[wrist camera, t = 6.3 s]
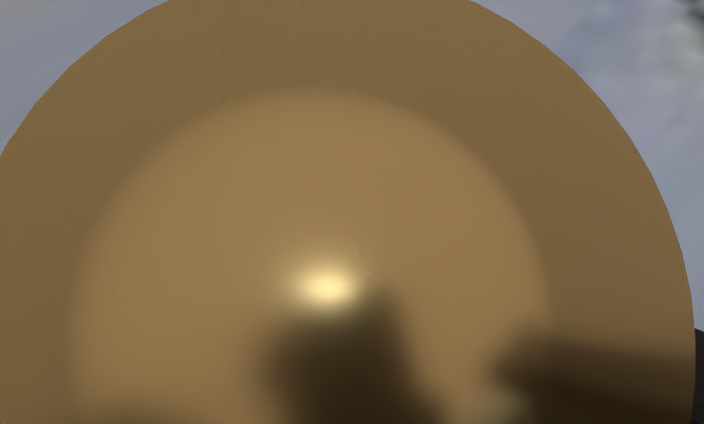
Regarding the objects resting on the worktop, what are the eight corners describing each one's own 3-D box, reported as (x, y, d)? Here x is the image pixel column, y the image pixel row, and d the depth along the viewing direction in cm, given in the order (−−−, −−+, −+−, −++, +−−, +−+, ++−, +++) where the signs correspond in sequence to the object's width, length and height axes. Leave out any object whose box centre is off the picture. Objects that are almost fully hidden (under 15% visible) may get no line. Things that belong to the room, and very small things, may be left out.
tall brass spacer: (324, 440, 14) (714, 738, 3) (153, 425, 14) (-173, 744, 2) (341, 275, 15) (680, 40, 4) (183, 255, 15) (58, -103, 3)
